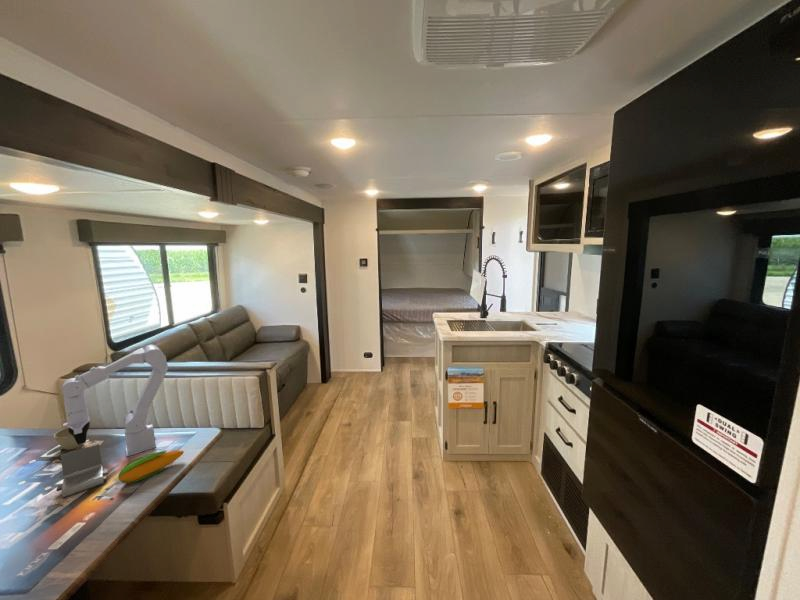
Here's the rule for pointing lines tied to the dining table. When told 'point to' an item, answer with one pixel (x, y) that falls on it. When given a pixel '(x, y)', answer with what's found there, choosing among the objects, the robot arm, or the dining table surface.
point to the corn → (148, 466)
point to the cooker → (82, 481)
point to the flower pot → (66, 439)
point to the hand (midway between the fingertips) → (81, 442)
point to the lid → (81, 460)
